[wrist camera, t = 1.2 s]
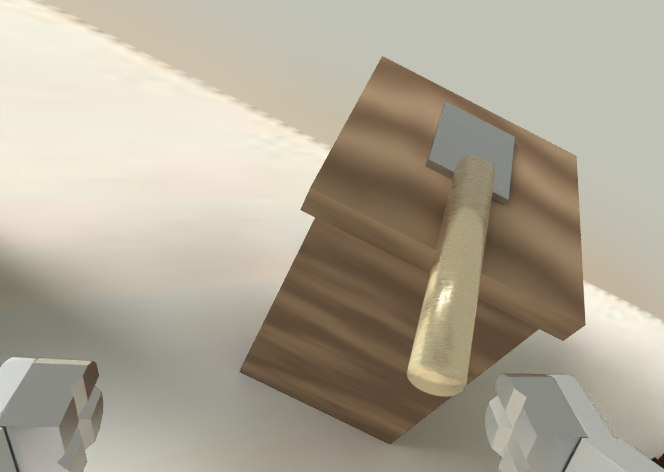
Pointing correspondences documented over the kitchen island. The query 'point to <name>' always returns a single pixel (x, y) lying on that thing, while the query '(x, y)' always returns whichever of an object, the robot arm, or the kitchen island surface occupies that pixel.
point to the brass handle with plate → (458, 246)
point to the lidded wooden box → (412, 260)
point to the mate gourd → (659, 461)
